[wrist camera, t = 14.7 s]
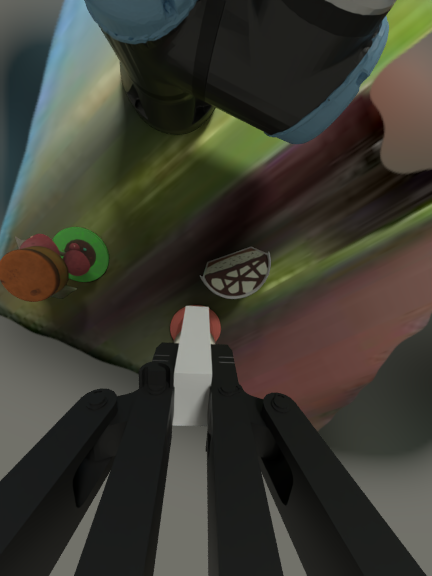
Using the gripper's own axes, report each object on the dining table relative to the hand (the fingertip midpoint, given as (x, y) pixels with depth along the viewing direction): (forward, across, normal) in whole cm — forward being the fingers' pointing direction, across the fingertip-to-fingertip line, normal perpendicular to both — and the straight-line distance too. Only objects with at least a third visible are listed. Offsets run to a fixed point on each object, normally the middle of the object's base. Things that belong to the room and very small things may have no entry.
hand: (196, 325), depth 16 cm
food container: (+33, +7, -4) cm, 34 cm away
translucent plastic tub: (+33, -23, -3) cm, 40 cm away
